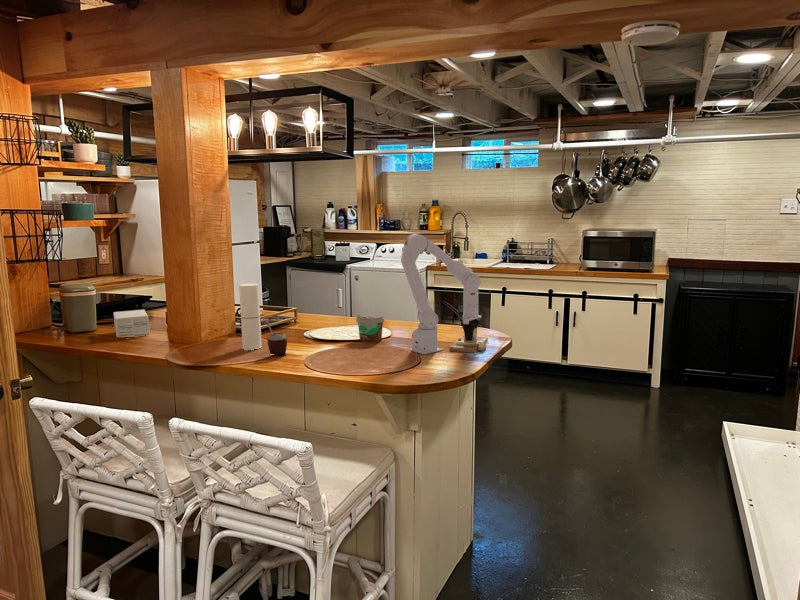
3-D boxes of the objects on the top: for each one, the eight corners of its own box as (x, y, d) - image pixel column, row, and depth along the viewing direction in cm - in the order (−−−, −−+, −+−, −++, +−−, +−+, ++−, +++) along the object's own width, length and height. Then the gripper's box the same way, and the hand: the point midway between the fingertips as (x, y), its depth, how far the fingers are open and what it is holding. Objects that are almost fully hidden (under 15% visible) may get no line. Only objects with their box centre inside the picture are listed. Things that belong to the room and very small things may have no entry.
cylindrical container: (249, 351, 222) (245, 286, 218) (239, 348, 227) (235, 285, 222) (265, 347, 227) (262, 284, 223) (254, 345, 232) (251, 283, 228)
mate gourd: (290, 353, 218) (288, 314, 216) (282, 358, 210) (280, 318, 208) (271, 352, 219) (269, 313, 217) (263, 358, 212) (261, 317, 209)
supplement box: (114, 332, 260) (112, 311, 258) (146, 329, 266) (145, 309, 264) (116, 340, 245) (114, 318, 244) (150, 336, 251) (148, 315, 250)
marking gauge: (482, 350, 217) (482, 331, 216) (455, 348, 221) (455, 329, 220) (486, 346, 223) (486, 328, 222) (459, 344, 227) (459, 326, 226)
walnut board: (475, 352, 215) (475, 348, 215) (449, 350, 219) (449, 346, 219) (487, 341, 234) (487, 337, 233) (463, 339, 237) (463, 335, 237)
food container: (350, 341, 237) (350, 317, 235) (358, 338, 242) (358, 314, 240) (377, 344, 231) (376, 319, 229) (384, 340, 236) (384, 316, 235)
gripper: (476, 307, 211) (476, 344, 213) (485, 301, 225) (485, 335, 227) (457, 306, 214) (457, 342, 216) (467, 300, 227) (467, 334, 229)
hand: (470, 339), depth 222 cm, fingers closed on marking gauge, 4 cm apart
